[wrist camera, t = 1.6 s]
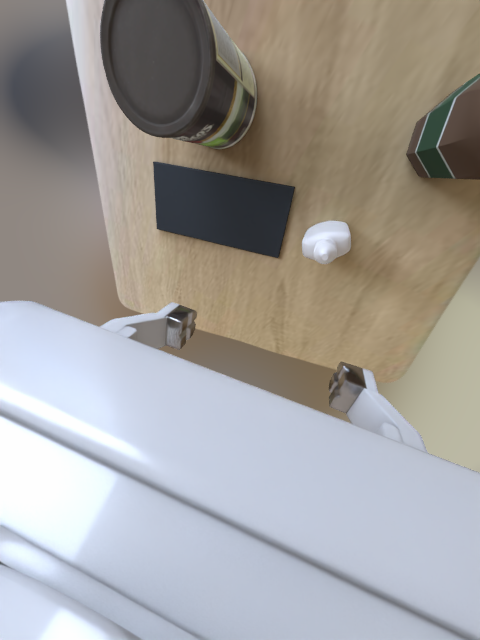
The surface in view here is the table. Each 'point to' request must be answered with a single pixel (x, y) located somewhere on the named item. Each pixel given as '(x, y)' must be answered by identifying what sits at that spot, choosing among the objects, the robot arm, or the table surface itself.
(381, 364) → the table surface
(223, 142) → the coffee can
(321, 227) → the eye dropper bottle
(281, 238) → the mat
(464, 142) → the beer bottle
